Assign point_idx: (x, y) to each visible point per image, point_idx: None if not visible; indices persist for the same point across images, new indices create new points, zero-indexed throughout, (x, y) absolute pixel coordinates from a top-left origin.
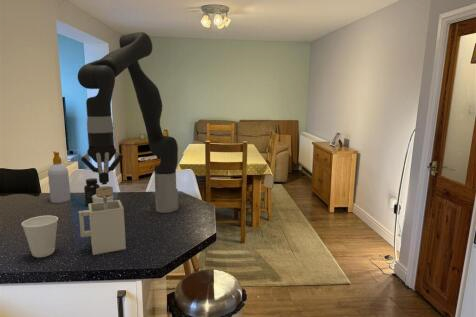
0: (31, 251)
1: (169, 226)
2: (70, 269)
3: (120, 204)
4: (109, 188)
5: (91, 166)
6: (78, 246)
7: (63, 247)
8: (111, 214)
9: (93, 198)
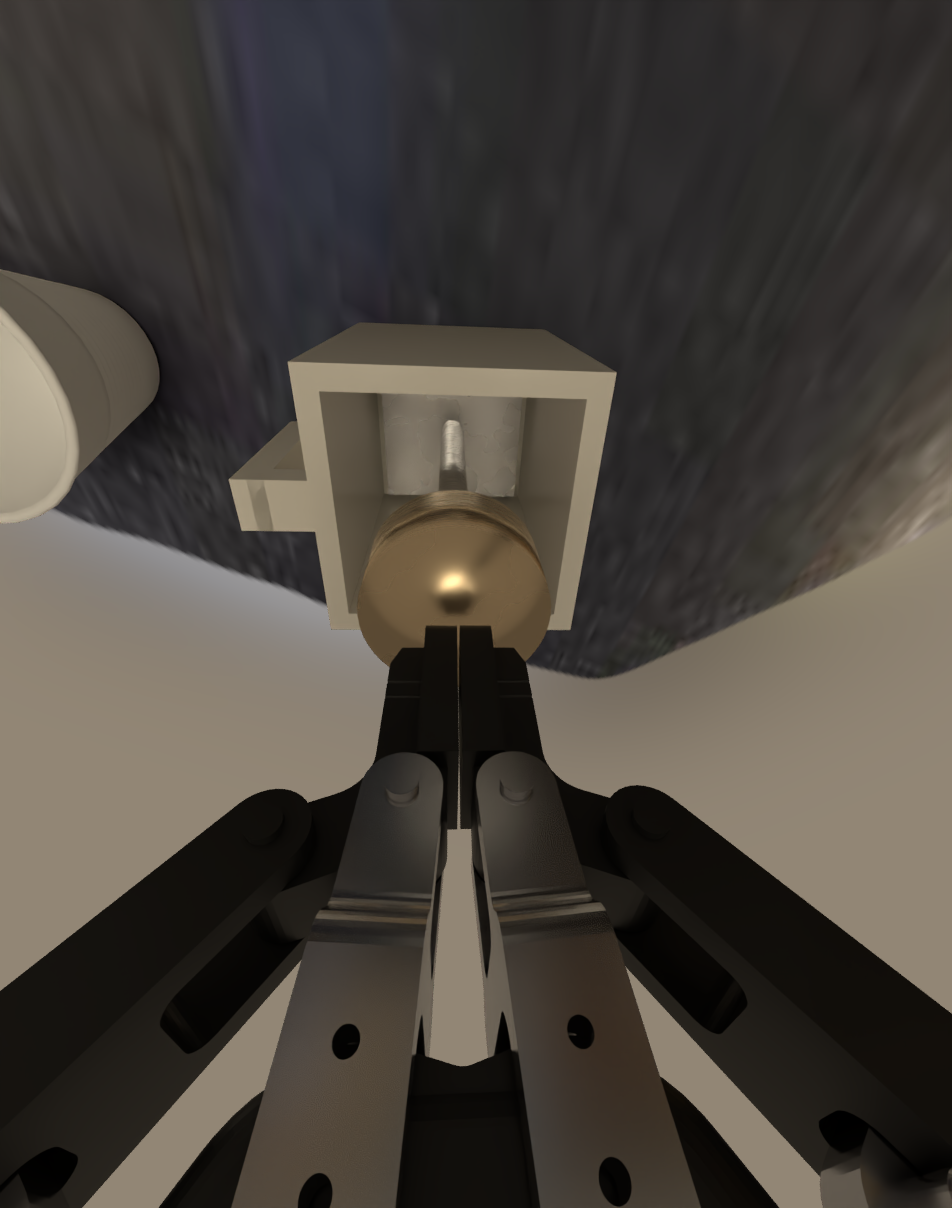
0: (30, 389)
1: (886, 275)
2: (294, 587)
3: (577, 532)
4: (508, 645)
5: (212, 1018)
6: (287, 343)
7: (196, 311)
8: None
9: None
